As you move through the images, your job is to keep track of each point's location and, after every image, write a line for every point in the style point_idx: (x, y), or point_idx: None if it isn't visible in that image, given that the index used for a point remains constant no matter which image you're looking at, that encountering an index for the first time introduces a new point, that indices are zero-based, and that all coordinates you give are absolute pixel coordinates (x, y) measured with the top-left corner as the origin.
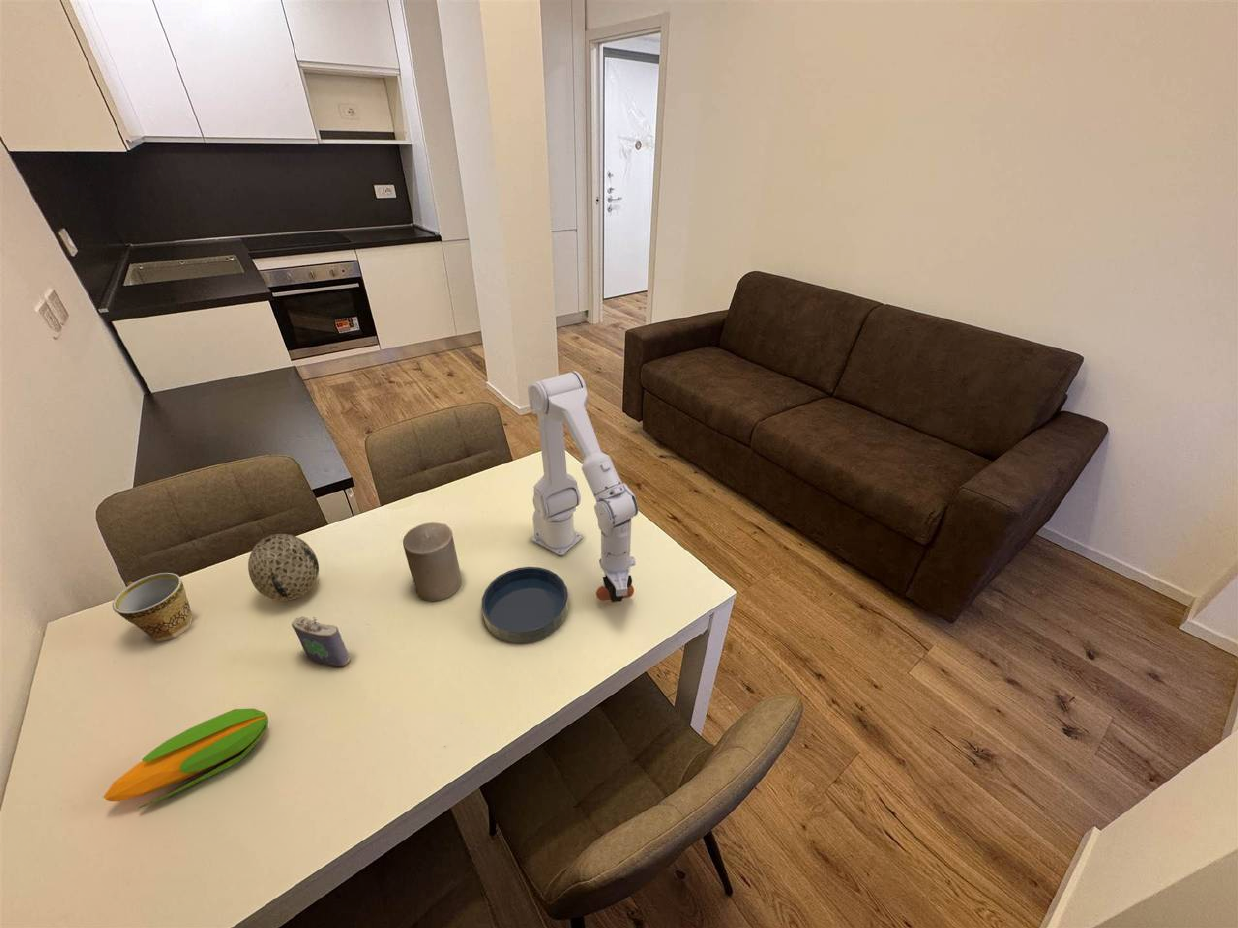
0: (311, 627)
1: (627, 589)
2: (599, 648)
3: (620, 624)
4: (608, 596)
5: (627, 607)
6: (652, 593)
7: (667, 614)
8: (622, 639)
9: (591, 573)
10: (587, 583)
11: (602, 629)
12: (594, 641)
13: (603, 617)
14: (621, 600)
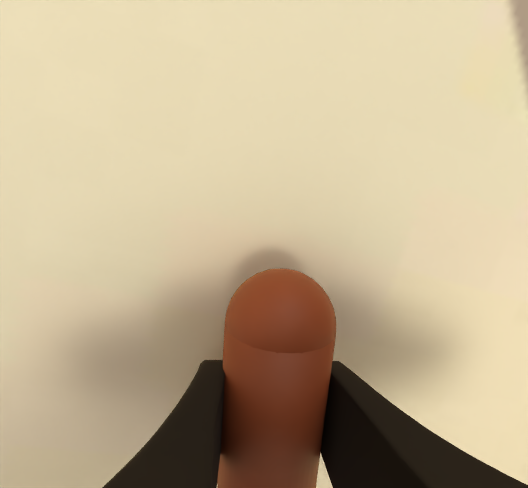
0: None
1: (322, 349)
2: (490, 446)
3: (406, 344)
4: (318, 462)
5: None
6: (246, 108)
7: (432, 70)
8: (487, 351)
9: (12, 432)
10: (93, 459)
11: None
12: None
13: None
14: (343, 365)
